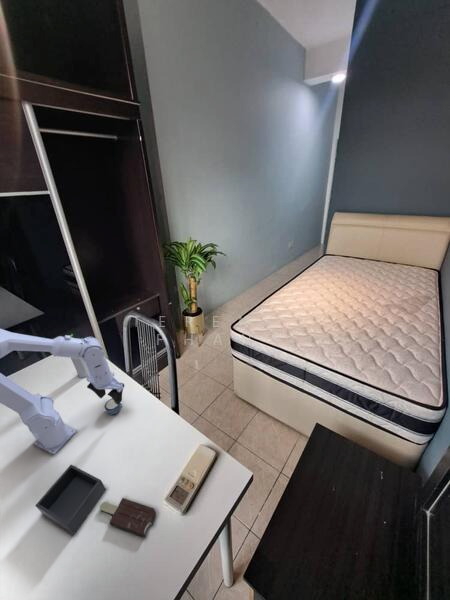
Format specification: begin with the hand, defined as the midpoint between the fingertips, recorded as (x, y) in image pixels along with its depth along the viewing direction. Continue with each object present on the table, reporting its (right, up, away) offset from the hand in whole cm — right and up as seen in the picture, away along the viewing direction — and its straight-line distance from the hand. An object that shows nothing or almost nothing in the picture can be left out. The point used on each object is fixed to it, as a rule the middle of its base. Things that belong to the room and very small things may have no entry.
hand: (111, 399), depth 88 cm
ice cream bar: (+16, -20, -25) cm, 36 cm away
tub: (+1, -18, -22) cm, 29 cm away
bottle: (-20, +3, +19) cm, 28 cm away
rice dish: (0, -5, +3) cm, 6 cm away
